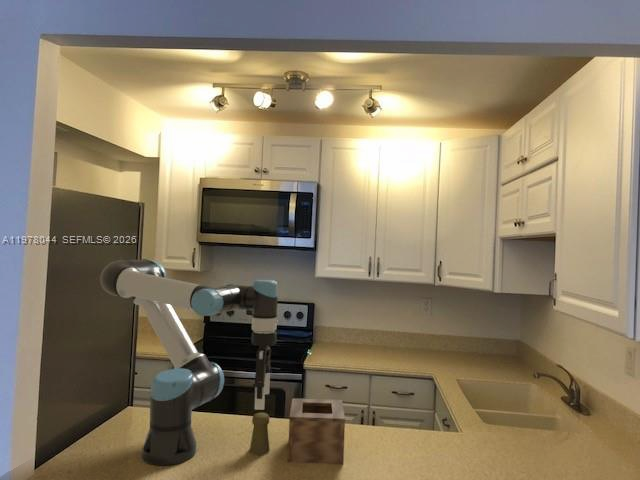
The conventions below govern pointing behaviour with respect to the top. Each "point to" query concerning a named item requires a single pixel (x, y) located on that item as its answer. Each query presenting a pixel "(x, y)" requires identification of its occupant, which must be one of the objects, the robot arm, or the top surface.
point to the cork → (260, 434)
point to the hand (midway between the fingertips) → (262, 401)
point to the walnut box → (316, 431)
